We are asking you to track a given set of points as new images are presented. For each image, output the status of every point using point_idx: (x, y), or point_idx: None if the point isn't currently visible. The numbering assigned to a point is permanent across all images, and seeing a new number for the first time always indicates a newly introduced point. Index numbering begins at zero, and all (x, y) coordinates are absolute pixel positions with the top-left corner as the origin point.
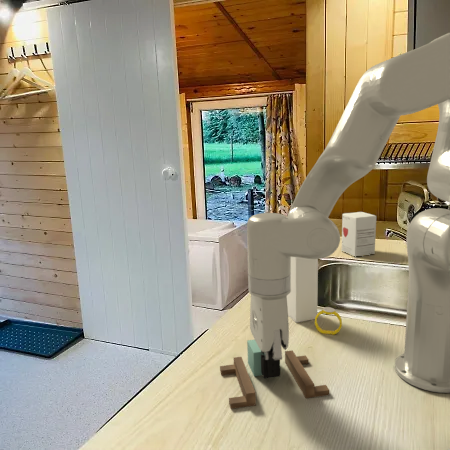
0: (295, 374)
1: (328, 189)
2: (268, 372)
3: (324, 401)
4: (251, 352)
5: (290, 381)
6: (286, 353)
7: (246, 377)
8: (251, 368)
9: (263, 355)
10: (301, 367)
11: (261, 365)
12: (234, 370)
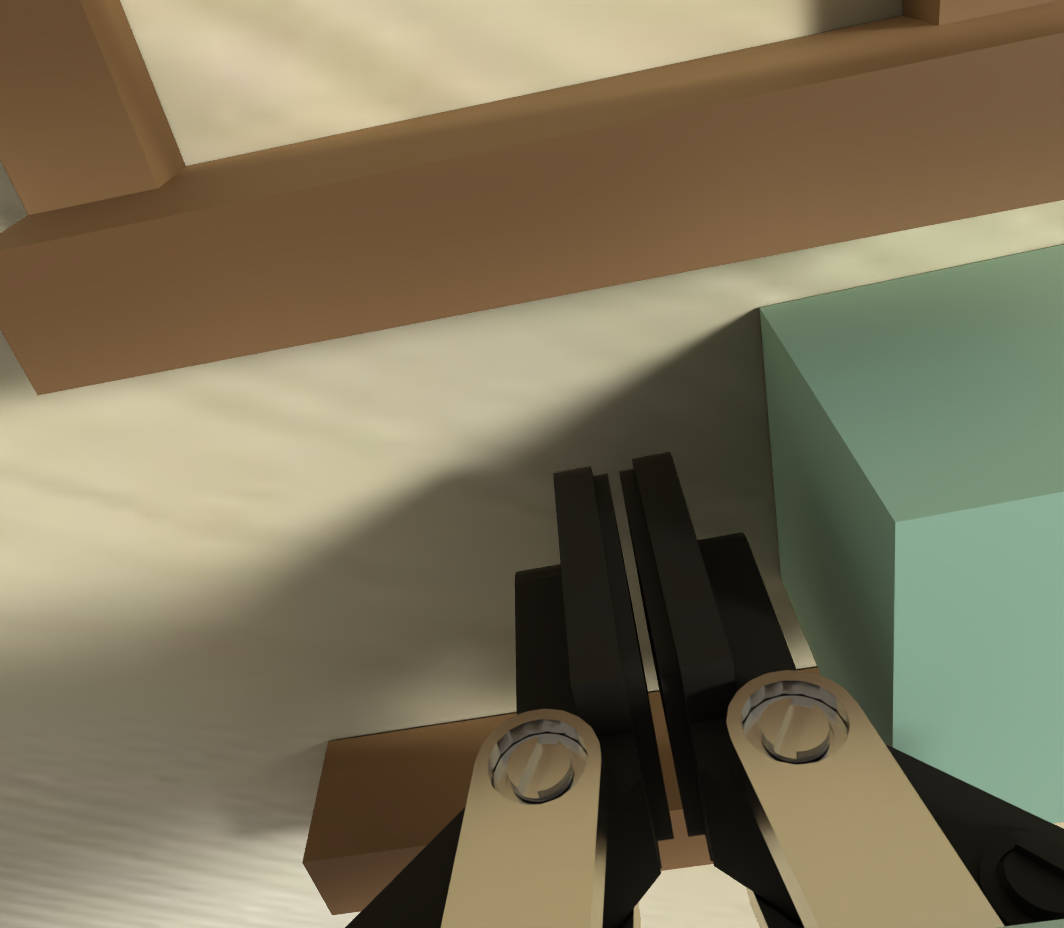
0: None
1: None
2: (516, 592)
3: (304, 839)
4: (1033, 441)
5: None
6: None
7: (439, 267)
8: (922, 290)
9: (705, 692)
10: None
11: (670, 533)
12: (928, 4)
